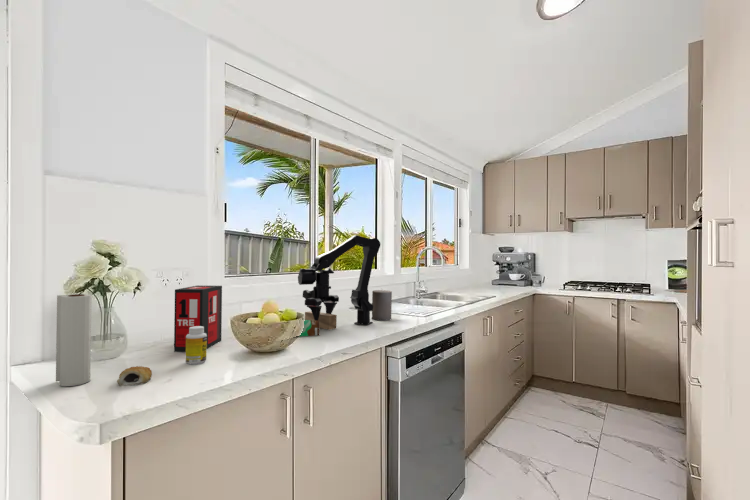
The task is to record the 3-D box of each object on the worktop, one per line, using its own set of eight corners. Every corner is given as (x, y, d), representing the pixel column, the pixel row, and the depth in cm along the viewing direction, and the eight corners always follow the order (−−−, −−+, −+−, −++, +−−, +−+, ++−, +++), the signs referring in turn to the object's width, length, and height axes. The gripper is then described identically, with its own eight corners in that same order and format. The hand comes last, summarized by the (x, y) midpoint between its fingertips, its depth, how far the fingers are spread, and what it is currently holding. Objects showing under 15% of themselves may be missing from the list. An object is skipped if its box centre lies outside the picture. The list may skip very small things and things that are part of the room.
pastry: (128, 376, 103) (128, 361, 103) (157, 374, 105) (157, 359, 105) (115, 387, 94) (115, 371, 94) (147, 385, 96) (147, 369, 96)
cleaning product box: (196, 340, 144) (197, 285, 145) (221, 340, 144) (222, 285, 145) (174, 352, 128) (174, 289, 128) (201, 352, 128) (202, 289, 128)
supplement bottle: (204, 364, 114) (205, 328, 114) (183, 365, 112) (184, 329, 113) (207, 359, 119) (208, 325, 119) (187, 360, 118) (188, 325, 118)
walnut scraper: (311, 324, 180) (311, 311, 181) (336, 328, 170) (336, 314, 170) (304, 325, 177) (304, 312, 177) (329, 330, 167) (329, 315, 167)
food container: (319, 320, 154) (293, 320, 152) (319, 336, 154) (292, 337, 152) (318, 315, 166) (293, 315, 164) (318, 330, 166) (293, 330, 164)
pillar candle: (367, 318, 195) (368, 288, 195) (380, 316, 203) (380, 287, 203) (383, 321, 189) (383, 289, 189) (395, 318, 197) (396, 288, 197)
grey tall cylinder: (93, 382, 97) (94, 294, 97) (62, 389, 93) (63, 296, 93) (85, 376, 102) (86, 292, 102) (55, 382, 97) (57, 294, 98)
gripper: (318, 282, 185) (318, 315, 185) (294, 284, 168) (293, 321, 168) (339, 283, 180) (339, 317, 180) (316, 285, 163) (316, 324, 163)
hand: (322, 320), depth 173 cm, fingers open, 9 cm apart
